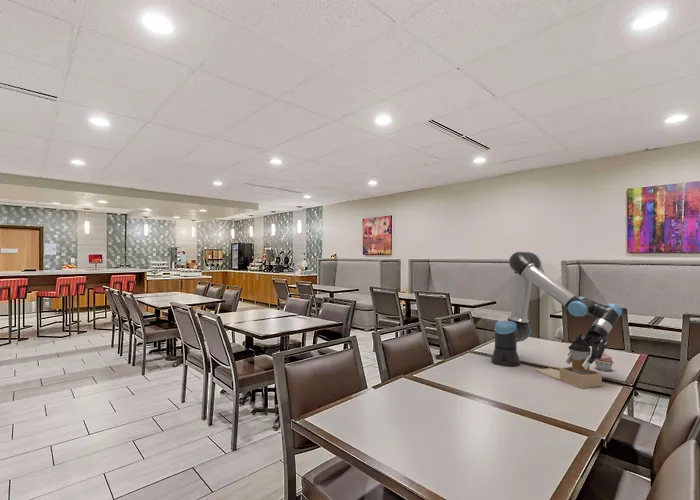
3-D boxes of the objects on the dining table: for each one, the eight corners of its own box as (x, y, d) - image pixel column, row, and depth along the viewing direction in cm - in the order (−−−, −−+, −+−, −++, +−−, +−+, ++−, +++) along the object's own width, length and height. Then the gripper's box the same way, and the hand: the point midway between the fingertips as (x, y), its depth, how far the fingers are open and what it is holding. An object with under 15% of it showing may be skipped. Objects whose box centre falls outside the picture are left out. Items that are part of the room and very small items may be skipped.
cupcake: (618, 372, 193) (618, 353, 193) (600, 372, 193) (600, 353, 194) (606, 367, 202) (606, 349, 203) (589, 366, 203) (589, 349, 203)
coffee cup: (585, 373, 178) (584, 343, 179) (594, 379, 170) (594, 347, 170) (567, 373, 179) (567, 342, 180) (576, 378, 171) (575, 346, 171)
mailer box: (534, 371, 193) (534, 359, 193) (552, 369, 197) (552, 358, 197) (582, 388, 167) (582, 375, 167) (601, 386, 171) (601, 373, 171)
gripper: (625, 339, 170) (600, 376, 164) (584, 331, 190) (560, 364, 184) (617, 328, 168) (592, 366, 163) (576, 321, 188) (552, 354, 183)
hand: (575, 364), depth 174 cm, fingers closed on coffee cup, 8 cm apart
